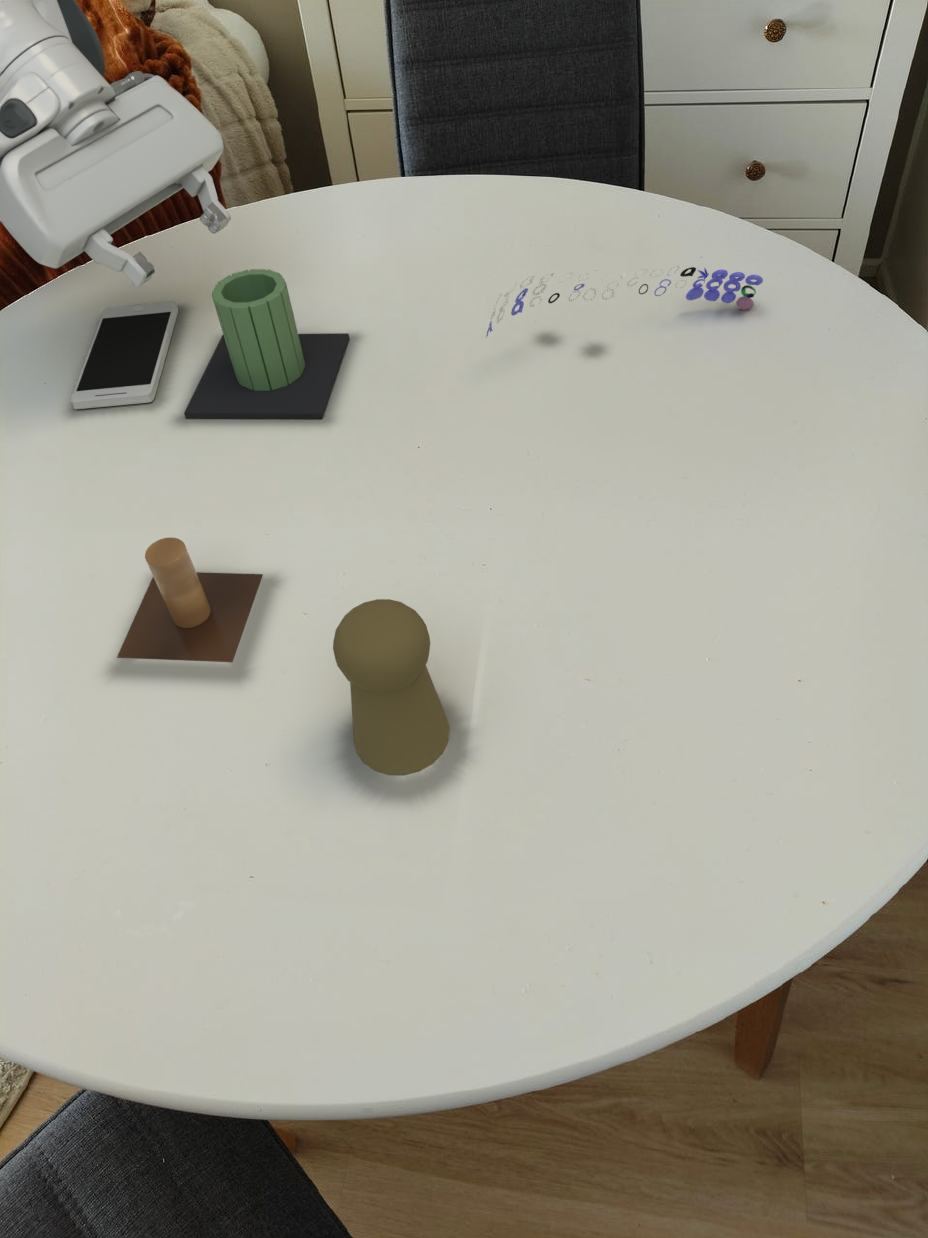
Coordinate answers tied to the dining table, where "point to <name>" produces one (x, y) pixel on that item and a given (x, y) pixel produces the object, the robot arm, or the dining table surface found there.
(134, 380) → the smartphone
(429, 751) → the olive brown pawn
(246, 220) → the dining table surface
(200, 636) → the peg stand
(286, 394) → the mat
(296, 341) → the green tube
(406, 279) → the dining table surface
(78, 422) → the dining table surface
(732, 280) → the ring set
